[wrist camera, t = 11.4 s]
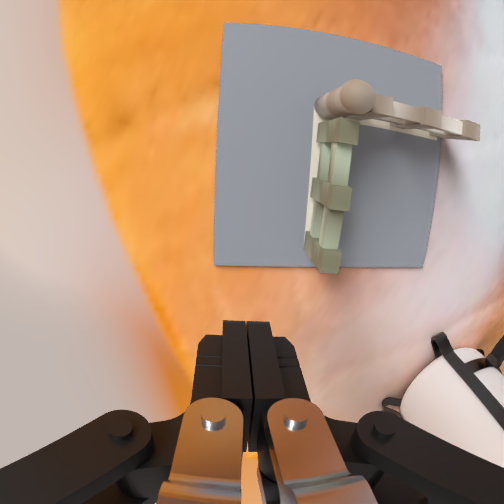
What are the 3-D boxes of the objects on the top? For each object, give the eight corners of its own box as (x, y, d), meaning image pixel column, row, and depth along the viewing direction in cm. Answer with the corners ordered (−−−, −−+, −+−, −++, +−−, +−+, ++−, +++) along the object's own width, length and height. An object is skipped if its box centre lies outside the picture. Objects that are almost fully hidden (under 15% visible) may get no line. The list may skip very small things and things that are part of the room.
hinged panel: (318, 122, 20) (340, 117, 16) (334, 125, 20) (359, 121, 16) (303, 249, 23) (319, 272, 19) (318, 250, 23) (338, 273, 19)
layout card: (439, 66, 19) (442, 66, 19) (420, 266, 25) (422, 267, 25) (224, 24, 18) (224, 22, 17) (213, 263, 24) (213, 265, 23)
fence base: (441, 120, 21) (496, 120, 14) (440, 142, 21) (495, 148, 15) (313, 92, 20) (347, 72, 13) (312, 118, 20) (346, 109, 14)
